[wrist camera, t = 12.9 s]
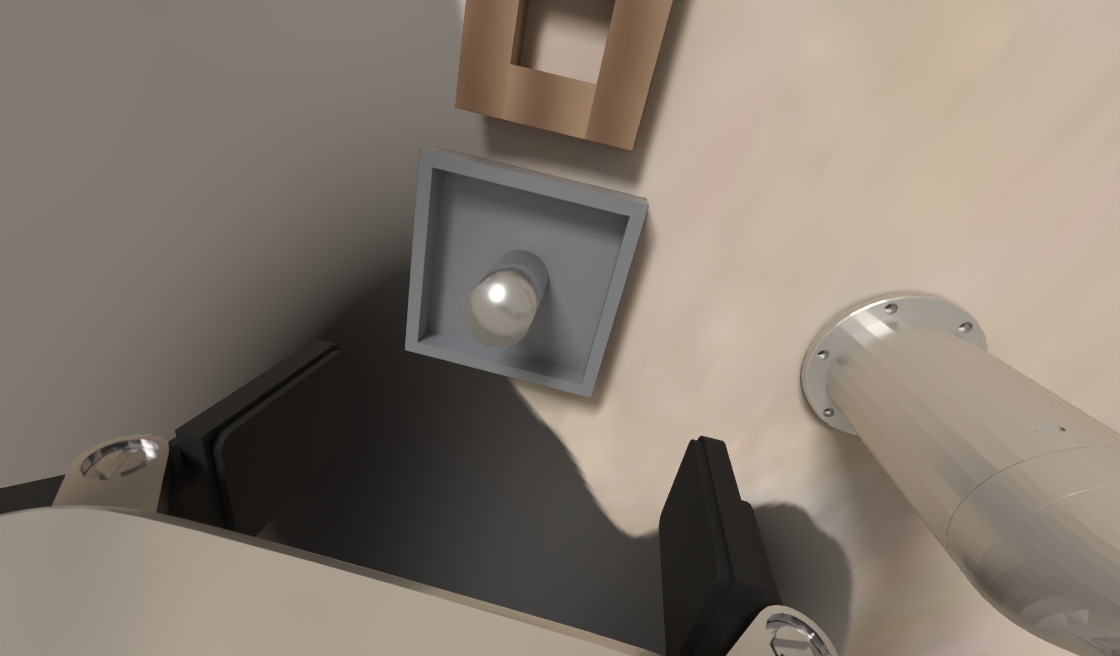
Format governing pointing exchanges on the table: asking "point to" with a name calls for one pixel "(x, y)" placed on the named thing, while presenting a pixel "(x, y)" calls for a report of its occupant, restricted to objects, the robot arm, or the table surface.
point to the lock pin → (506, 299)
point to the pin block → (557, 100)
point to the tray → (507, 225)
